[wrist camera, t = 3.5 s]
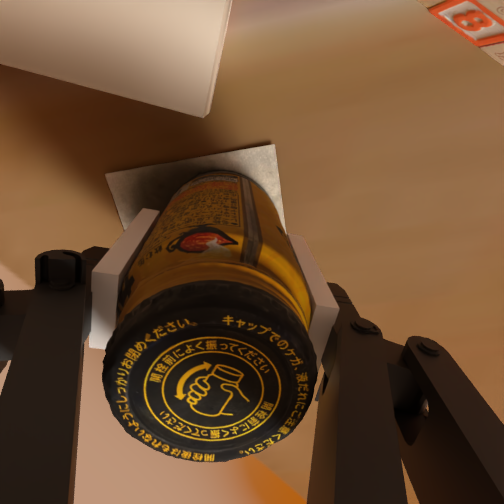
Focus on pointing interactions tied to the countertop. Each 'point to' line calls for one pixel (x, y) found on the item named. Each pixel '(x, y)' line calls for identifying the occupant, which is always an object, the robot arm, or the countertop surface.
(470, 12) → the stack of blocks
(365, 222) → the countertop surface
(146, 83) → the birch block
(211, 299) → the condiment
